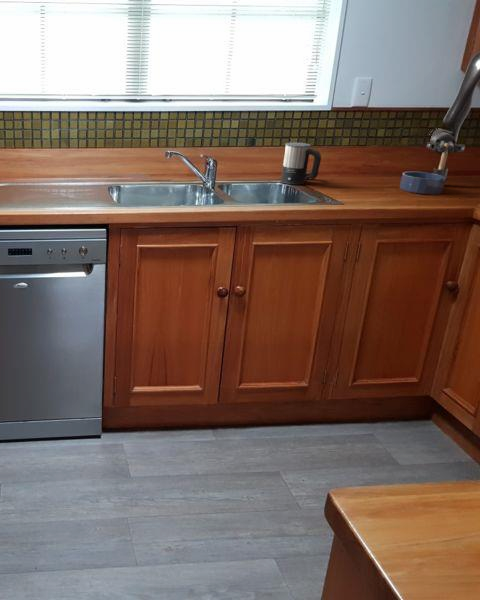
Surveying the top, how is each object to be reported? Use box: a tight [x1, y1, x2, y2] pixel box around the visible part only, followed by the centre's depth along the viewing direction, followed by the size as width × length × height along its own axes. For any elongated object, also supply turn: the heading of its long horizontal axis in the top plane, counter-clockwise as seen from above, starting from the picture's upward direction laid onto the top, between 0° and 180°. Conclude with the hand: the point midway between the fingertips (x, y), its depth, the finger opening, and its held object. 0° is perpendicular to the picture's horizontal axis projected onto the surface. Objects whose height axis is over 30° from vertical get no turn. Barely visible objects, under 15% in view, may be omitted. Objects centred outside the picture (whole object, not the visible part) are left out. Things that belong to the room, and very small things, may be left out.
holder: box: [432, 167, 449, 184], centre depth 235 cm, size 5×5×7 cm
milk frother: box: [279, 142, 322, 185], centre depth 237 cm, size 14×16×15 cm
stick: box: [437, 143, 450, 170], centre depth 233 cm, size 2×2×16 cm
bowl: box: [399, 171, 446, 196], centre depth 227 cm, size 14×14×6 cm
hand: (446, 149), depth 228 cm, fingers closed on stick, 2 cm apart
